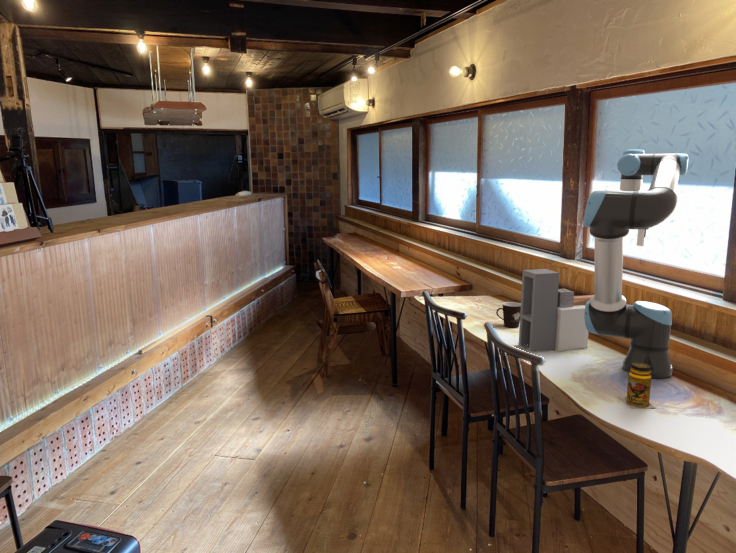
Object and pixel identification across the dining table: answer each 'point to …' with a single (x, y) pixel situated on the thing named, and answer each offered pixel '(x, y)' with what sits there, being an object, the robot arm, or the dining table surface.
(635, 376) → the condiment
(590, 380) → the dining table surface
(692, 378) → the dining table surface
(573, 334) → the block
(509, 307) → the coffee mug
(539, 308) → the stand
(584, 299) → the grey mallet
